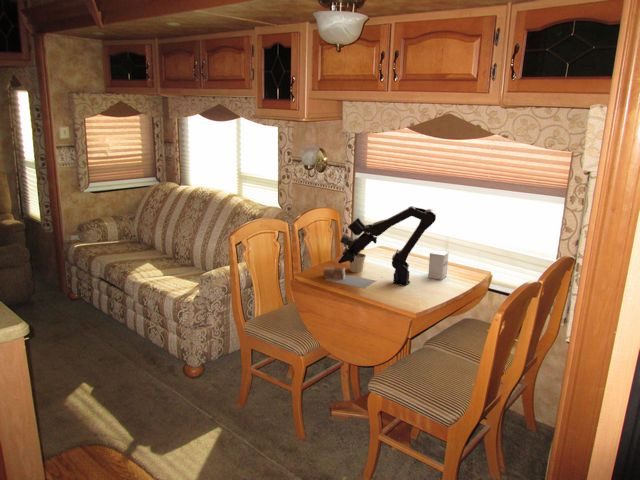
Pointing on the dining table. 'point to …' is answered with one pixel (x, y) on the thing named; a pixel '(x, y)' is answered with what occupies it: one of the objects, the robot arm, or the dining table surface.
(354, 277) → the rubber mat
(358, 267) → the flower pot
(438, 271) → the supplement box
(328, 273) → the walnut block
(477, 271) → the dining table surface
